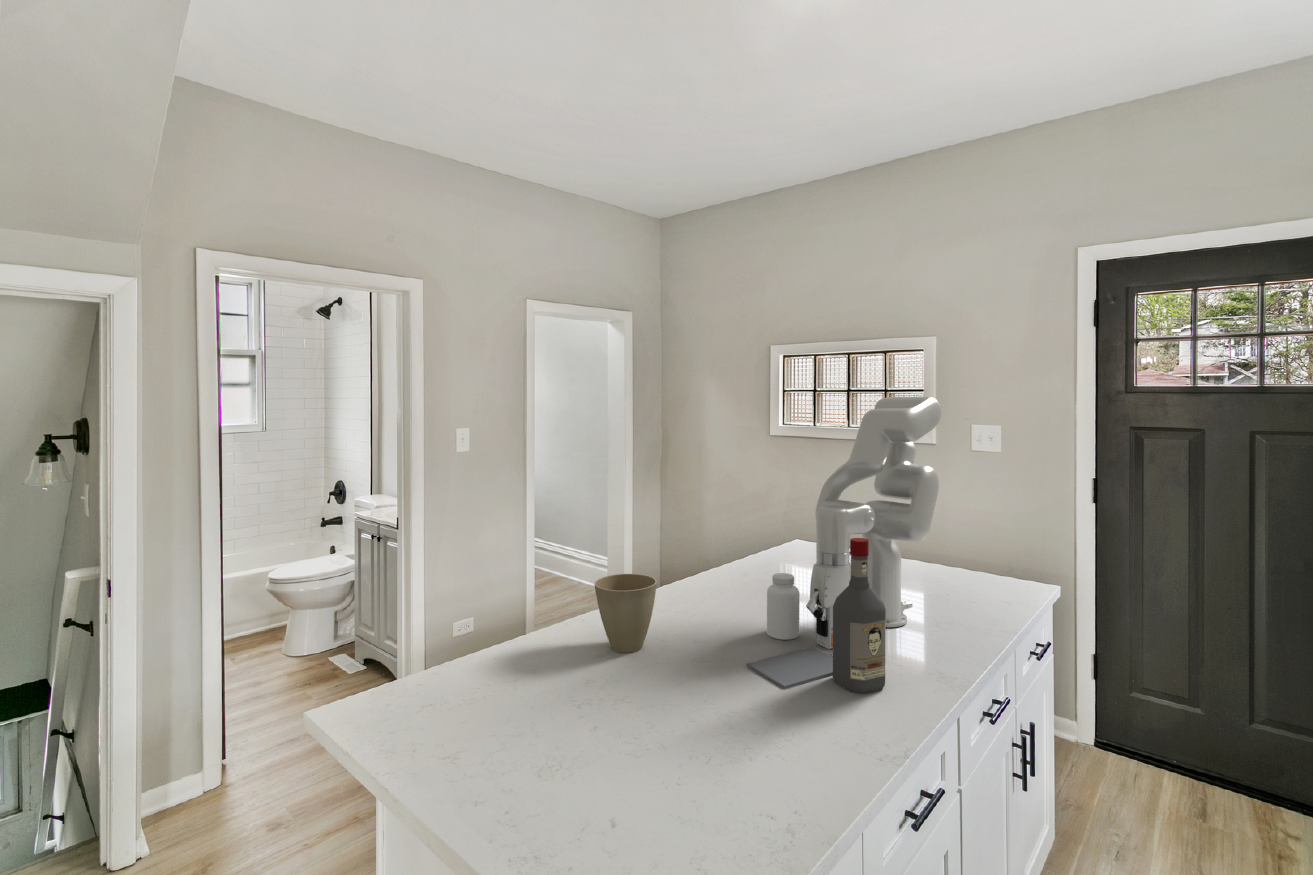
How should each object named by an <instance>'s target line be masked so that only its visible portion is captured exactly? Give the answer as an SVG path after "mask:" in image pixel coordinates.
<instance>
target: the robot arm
mask: <svg viewBox="0 0 1313 875" xmlns="http://www.w3.org/2000/svg"><path fill="white" fill-rule="evenodd" d="M941 418H942V407H941V404H940V402H939V401H938V400H937V399H936V398H934V397H932V396H890V397H884V398H881V399H879V400H878V401H877V402H876V403H875V406H874V409H870V410H868V411H867V412H865V413H864V415H863V416H862V418H861V419H862V420H861V421H860V423H859V424H860V425H859V427H858V431H857V434H856V437H855V441H854V444H853V446H852V450H851V453H850V457H849V458H848V460H847V461H846V462H845V463H843V464H842V465H841V466H839V467H838V468H837V469H836V470H835V471H833V473H832V474H831V475H830V476H829V477H828V478H827V479H826V481H825V482H824V484H823V486H822V488H821V490H820V494H819V497H818V500H817V502H816V507H815V519H816V520H815V522H816V524H815V525H816V528H815V532H816V533H815V534H816V535H815V536H816V537H815V538H816V545H815V546H816V554H815V555H816V557H815V559H816V560H815V561H816V563H813V566H812V570H811V577H810V588H809V600H808V602H806V605H805V608H807V609H808V610H809V611H810V613H811V614H812V615H813V618H815V622H816V624H815V625H816V626H815V627H816V628H815V629H816V631H815V632H816V635H817V634H819V635H821V636H823V637H827V636H828V621H827V620H825V619H826V616H827V611H828V608H830V606H831V605H833V604H834V603H835V600H836V598H837V597H838V596H839V595H840V594H841V593H842V592H843V591H844V590H845V589H846V588H847V587H848V586H849V582H850V579H851V562H850V557H851V555H850V535H861V538H864V539H868V540H869V556H868V581H869V583H870V584H869V586H870V587H871V589H872V590H873V591H874V592H875V593H876V594H877V595H878V596H879V598H880V599H881V600H882V601H883V602H884V605H885V607H886V628H896V627H897V628H898V627H903V626H904V625H906V624H907V622H908V617H907V615H906V614H904V611H905V610H908V609H911V608H913V602H912V601H910V600H908V601H902V554H901V550H900V547H899V546H898V544H897V542H896V541H902V542H910V543H920V542H923V541H924V540H925V539H926V538H927V537H928V534H929V532H930V529H931V526H932V522H933V516H934V513H935V512H934V511H935V508H936V502H937V498H938V494H939V487H940V485H939V484H940V481H939V476H938V473H937V471H936V470H935V469H934V468H933V467H931V466H930V465H926V464H916V463H915V459H916V455H917V454H916V453H917V448H916V444H915V443H914V442H916V441H918V440H920V439H921V438H922V437H924V436H926V435H927V434H928V433H929V432H931V431H932V430H934V429H935V428H936V427H937V426H938V425H939V423H940V420H941ZM872 477H874V478H875V479H874V483H873V484H874V486H873V487H874V491H875V493H876V494H877V495H879V496H880V497H883V498H887V499H892V500H893V499H895V500H900V501H901V500H902V501H910V503H906V502H897V501H888V500H878V499H877V500H869V501H867V502H865V503H863V502H856V501H850V500H841V499H840V497H841V495H842V494H843V493H844V491H845V490H846V489H848V488H849V487H850V486H852V485H854V484H856V483H859V482H861V481H864V480H867V479H869V478H872ZM895 540H896V541H895ZM821 608H822V609H823V610H822V613H821V612H820V611H821Z"/></svg>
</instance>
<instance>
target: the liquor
mask: <svg viewBox="0 0 1313 875" xmlns="http://www.w3.org/2000/svg"><path fill="white" fill-rule="evenodd" d="M849 551H850V565H851V579H850V582H849V586H848V587H847V588H846V589H845V590H844V591H843V592H842V593H841V594H840V595H839V596H838V597H837V598H836V600H835V603H834V605H833V648H832V656H833V675H832V679H833V681H834V683H836V684H837V685H839V686H840V687H842V688H844V689H846V690H847V691H849V692H850V693H858V694H867V693H871V692H876V691H880V690H883V689H884V687H885V685H886V644H887V642H886V641H887V640H886V638H887V637H886V633H887V632H886V628H887V627H886V607H885V605H884V602H883V601H882V600H881V599H880V598H879V596H878V595H877V594H876V593H875V592H874V591H873V590H872V589H871V587H870V586H869V584H870V583H869V581H868V556H869V540H868V539H864V538H862V537H852V538H849Z"/></svg>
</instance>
